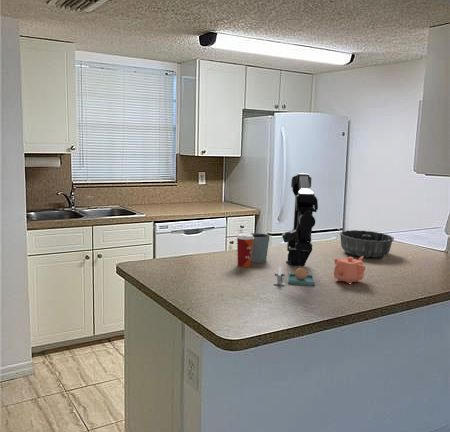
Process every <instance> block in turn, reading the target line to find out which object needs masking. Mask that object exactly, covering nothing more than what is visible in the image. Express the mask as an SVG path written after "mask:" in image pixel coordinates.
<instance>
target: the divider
mask: <svg viewBox="0 0 450 432" xmlns="http://www.w3.org/2000/svg"><path fill="white" fill-rule="evenodd" d="M282 269H283V265H282V264H279V265H278V272H274V275H275V276H277V282H273V286H281V287H284V286H285V283H284V282H282V276H283V277H285V275H286V273H285V272H282Z"/></svg>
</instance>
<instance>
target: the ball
mask: <svg viewBox="0 0 450 432" xmlns="http://www.w3.org/2000/svg"><path fill="white" fill-rule="evenodd" d="M294 274H295V276H296V278H297V279H299V280H304V279H306V278H307V275H309V273H308V271H307V269H306V268H305V267H298V268H297V269H296V270H295V272H294Z"/></svg>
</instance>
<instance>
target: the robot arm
mask: <svg viewBox="0 0 450 432" xmlns="http://www.w3.org/2000/svg"><path fill="white" fill-rule="evenodd" d="M290 188H292V189H291V191H292V192H293V195H294V197H295V199H294V212H293V213H294V215H293V226H292V227H293V228H292V230H290V231H286V232H283V233H281V236H282V239H283V242H284V243H285V244H286V251H288V254H287V260H286V261H285V262H286V263H287V264H289V265H292V266H294V267H295V266H301V267H304V266H305V265H306V263H307V261H308V259H309V257H310V255H311V254H312V251H313V244H312V231H313V227H315V225H316V218H315V216H313V213H317V212H318V211H317V210H319V203H318V198H317V196H316V194H315V192H314V191H313V190H311V188H312V177H311V176H310V174H309V173H299V172H298V173H297V174H296V175H294V176H292V177H291V182H290Z"/></svg>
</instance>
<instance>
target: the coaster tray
mask: <svg viewBox="0 0 450 432" xmlns="http://www.w3.org/2000/svg"><path fill="white" fill-rule="evenodd" d="M287 281H288V282H287V284H288V285H296V286H297V285H298V286H299V285H301V286H311V285H314V286H315V285H316V284H315V277H314V274H308V275H307V278H306V279H304V280H299V279H297V278H296V276H295V272H294V273H293V272H292V273H290V272H289V273H288V275H287Z"/></svg>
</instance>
